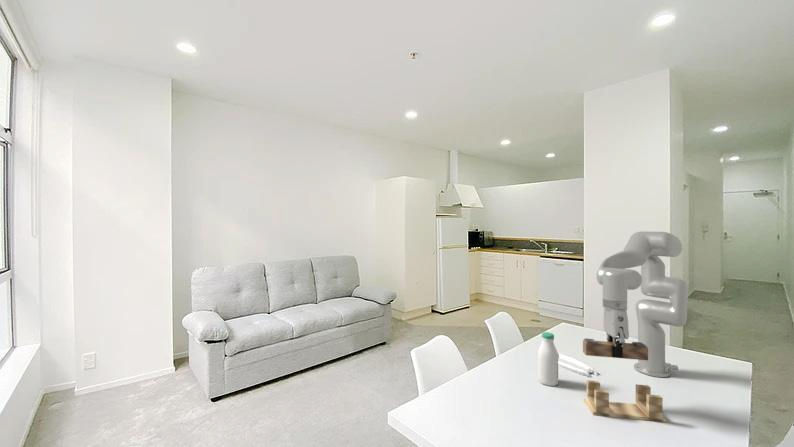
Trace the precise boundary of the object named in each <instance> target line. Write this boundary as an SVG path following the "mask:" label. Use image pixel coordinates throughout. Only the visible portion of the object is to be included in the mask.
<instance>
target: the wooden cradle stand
mask: <svg viewBox="0 0 794 447" xmlns="http://www.w3.org/2000/svg"><path fill="white" fill-rule="evenodd" d="M663 398H664V397H662V395H658V394H652V392H651V386H649V385H646V384H635V403H627V402H621V401H619V402H618V401H610V392H609V391H608V390H606V389H605V390H604V389H601V382H600V381H599V380H587V379H586V398H583V403H584V404H585V406H586V407H587V409H588V411H590V413H591V415H592V416H601V417H610V418H621V419H629V420H639V421H647V422H648V421H649V422H657V423H658V422H659V423H667V419H666V417H664V416H663V414H664V413H663V411H664V410H663V409H664V407H663V402H664V401H663Z"/></svg>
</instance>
